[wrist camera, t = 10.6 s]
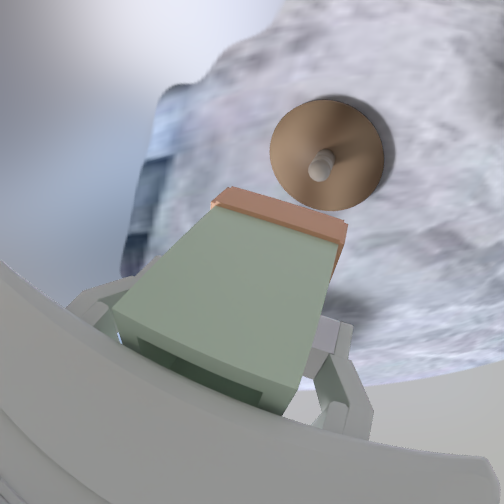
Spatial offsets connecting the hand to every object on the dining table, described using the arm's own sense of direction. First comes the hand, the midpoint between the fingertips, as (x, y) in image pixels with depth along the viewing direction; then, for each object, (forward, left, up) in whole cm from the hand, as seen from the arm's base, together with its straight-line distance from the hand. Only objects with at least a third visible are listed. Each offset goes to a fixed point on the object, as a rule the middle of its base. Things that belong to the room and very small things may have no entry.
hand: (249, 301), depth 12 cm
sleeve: (0, 0, -4) cm, 4 cm away
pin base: (0, 0, -21) cm, 21 cm away
